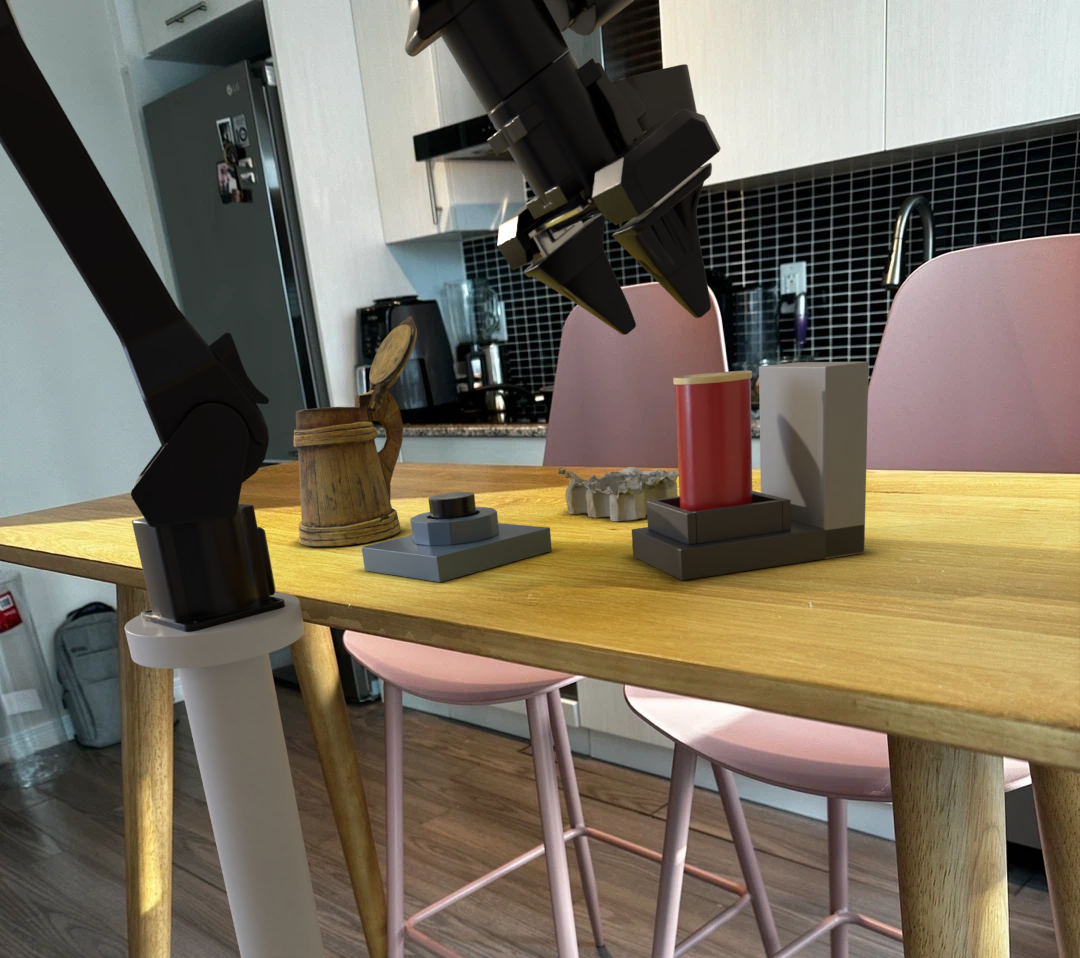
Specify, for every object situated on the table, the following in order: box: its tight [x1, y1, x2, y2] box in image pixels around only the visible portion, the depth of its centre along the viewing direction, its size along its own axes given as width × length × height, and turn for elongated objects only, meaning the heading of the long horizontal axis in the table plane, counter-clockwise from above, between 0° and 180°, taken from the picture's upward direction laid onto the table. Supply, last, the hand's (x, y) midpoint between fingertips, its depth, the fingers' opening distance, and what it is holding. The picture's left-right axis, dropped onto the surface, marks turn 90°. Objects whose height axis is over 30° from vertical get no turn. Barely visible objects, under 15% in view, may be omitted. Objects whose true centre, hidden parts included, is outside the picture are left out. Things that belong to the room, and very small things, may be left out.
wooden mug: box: [293, 315, 418, 548], centre depth 90 cm, size 9×14×18 cm, turn 124°
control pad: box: [361, 506, 553, 583], centre depth 77 cm, size 11×9×4 cm
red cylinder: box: [672, 370, 753, 512], centre depth 68 cm, size 5×5×10 cm
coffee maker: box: [631, 361, 870, 581], centre depth 68 cm, size 13×9×12 cm
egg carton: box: [557, 466, 679, 522], centre depth 91 cm, size 11×8×4 cm
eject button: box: [428, 491, 477, 520], centre depth 76 cm, size 3×3×2 cm
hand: (665, 323), depth 65 cm, fingers open, 9 cm apart
